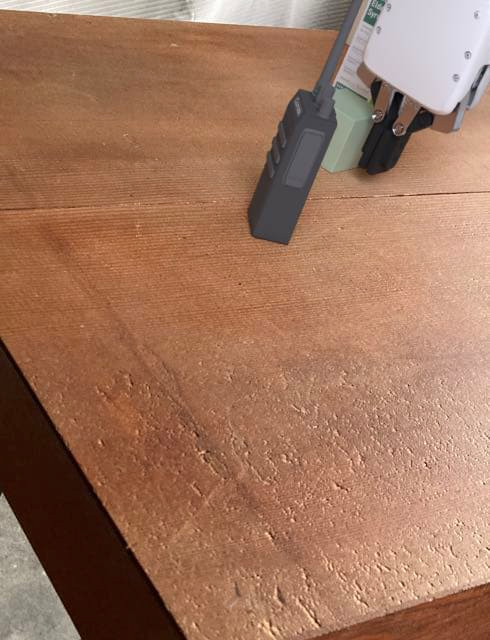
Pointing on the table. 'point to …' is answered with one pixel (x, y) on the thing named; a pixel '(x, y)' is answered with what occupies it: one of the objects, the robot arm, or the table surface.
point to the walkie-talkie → (298, 150)
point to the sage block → (348, 131)
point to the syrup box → (358, 53)
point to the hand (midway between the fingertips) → (373, 168)
